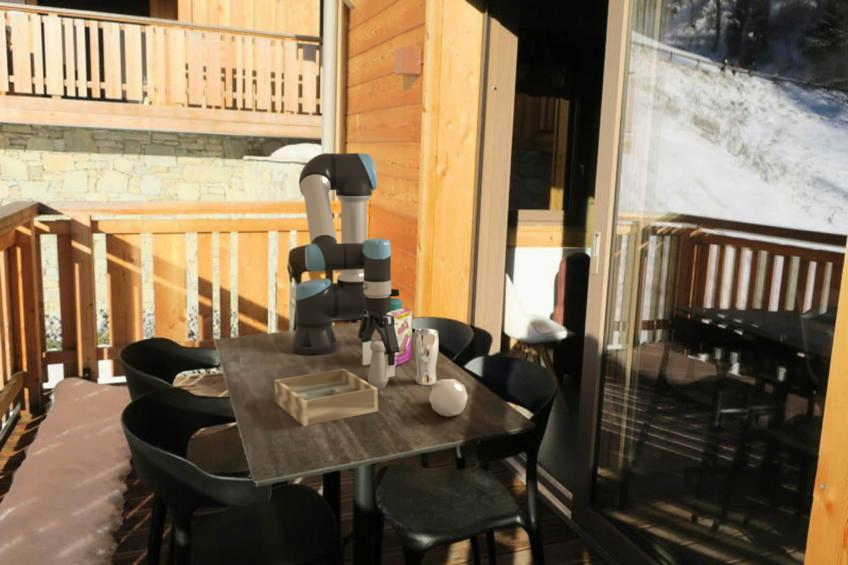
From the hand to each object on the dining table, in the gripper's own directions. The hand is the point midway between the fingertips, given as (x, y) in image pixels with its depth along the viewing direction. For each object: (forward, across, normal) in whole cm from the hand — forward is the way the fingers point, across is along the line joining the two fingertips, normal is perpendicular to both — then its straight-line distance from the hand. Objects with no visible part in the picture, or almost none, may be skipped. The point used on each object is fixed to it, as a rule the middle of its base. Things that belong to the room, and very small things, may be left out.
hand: (378, 370), depth 198 cm
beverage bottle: (+5, -35, +24) cm, 43 cm away
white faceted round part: (+5, +26, +6) cm, 27 cm away
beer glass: (+5, +3, +14) cm, 15 cm away
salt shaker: (+5, 0, 0) cm, 5 cm away
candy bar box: (+5, -18, +16) cm, 25 cm away
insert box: (+5, +7, -19) cm, 21 cm away
